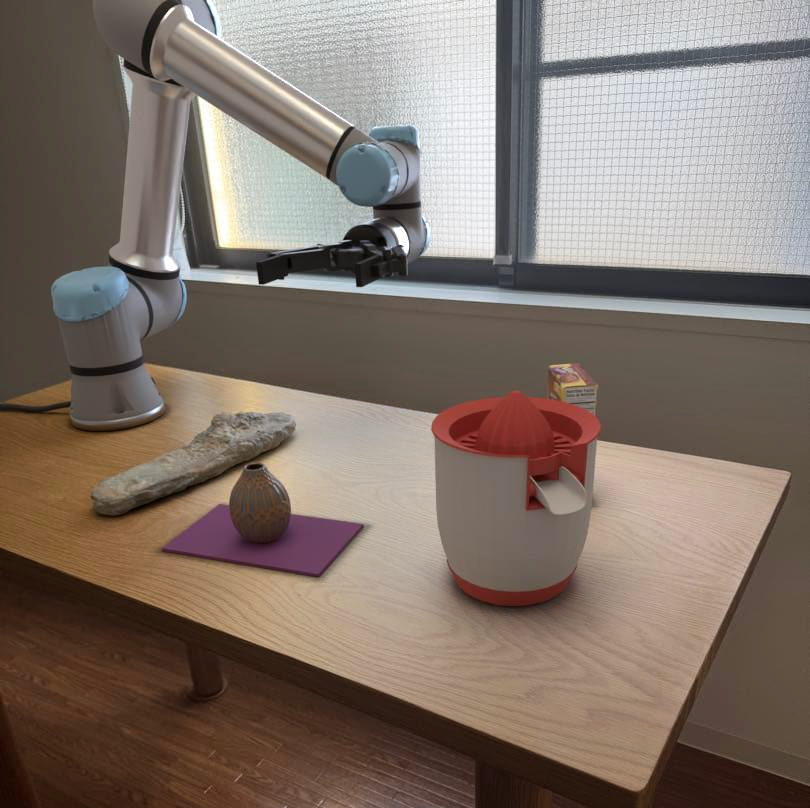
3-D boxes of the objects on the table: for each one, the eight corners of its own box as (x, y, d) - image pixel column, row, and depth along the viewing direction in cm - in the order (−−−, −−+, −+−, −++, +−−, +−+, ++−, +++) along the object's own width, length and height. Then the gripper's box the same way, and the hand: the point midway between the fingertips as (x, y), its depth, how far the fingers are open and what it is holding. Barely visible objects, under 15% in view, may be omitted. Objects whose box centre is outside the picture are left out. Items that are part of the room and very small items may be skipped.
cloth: (162, 551, 88) (161, 548, 87) (220, 506, 97) (219, 503, 97) (318, 577, 81) (318, 574, 81) (363, 526, 91) (363, 523, 91)
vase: (271, 516, 93) (261, 449, 89) (306, 534, 89) (297, 464, 85) (222, 537, 89) (210, 467, 85) (256, 556, 85) (245, 484, 80)
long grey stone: (77, 515, 100) (125, 538, 95) (66, 480, 97) (115, 501, 92) (265, 421, 123) (312, 435, 118) (261, 390, 120) (309, 403, 115)
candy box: (542, 478, 101) (547, 363, 93) (574, 476, 101) (582, 362, 93) (556, 508, 93) (563, 385, 86) (591, 506, 93) (601, 383, 86)
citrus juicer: (489, 648, 69) (492, 439, 59) (411, 562, 83) (403, 382, 73) (631, 604, 74) (655, 405, 64) (535, 530, 88) (542, 358, 78)
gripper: (456, 277, 109) (403, 309, 92) (301, 273, 117) (226, 302, 100) (455, 220, 106) (400, 242, 88) (295, 221, 114) (216, 241, 97)
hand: (307, 274), depth 94 cm, fingers open, 13 cm apart
